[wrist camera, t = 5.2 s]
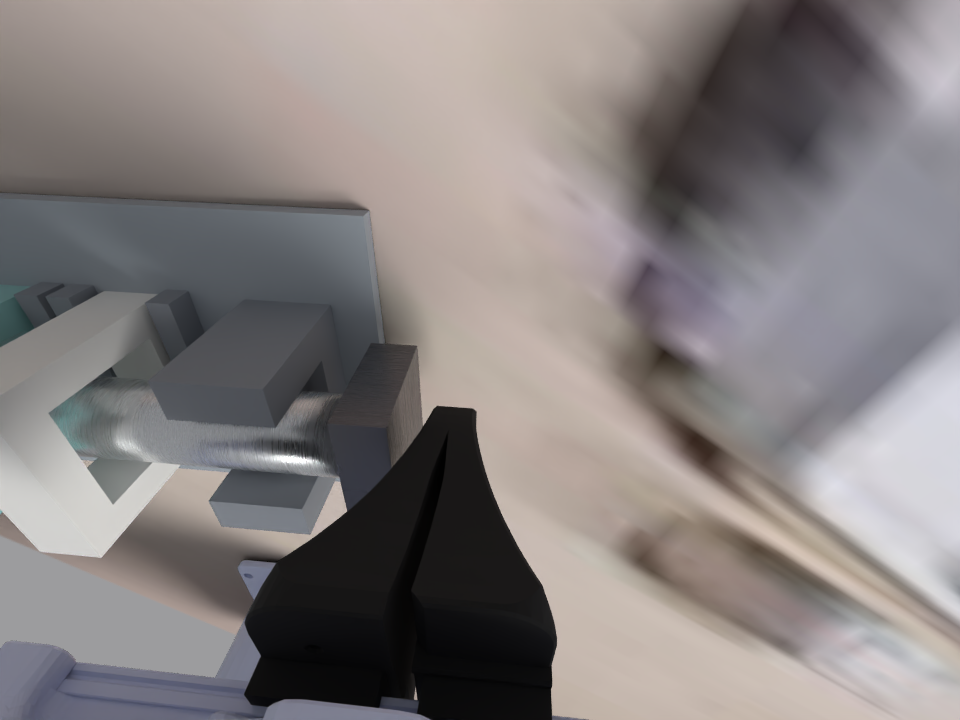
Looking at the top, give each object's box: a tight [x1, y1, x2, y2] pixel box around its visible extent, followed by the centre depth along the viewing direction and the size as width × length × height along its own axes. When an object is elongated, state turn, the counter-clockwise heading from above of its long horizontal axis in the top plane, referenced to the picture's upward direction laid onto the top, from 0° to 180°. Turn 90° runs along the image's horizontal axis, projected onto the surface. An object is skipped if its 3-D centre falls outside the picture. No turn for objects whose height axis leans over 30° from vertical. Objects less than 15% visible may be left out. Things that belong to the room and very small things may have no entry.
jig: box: [0, 193, 385, 535], centre depth 15 cm, size 12×20×5 cm, turn 89°
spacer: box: [0, 291, 180, 558], centre depth 14 cm, size 6×2×6 cm, turn 179°
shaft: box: [48, 343, 423, 511], centre depth 14 cm, size 5×16×4 cm, turn 89°
